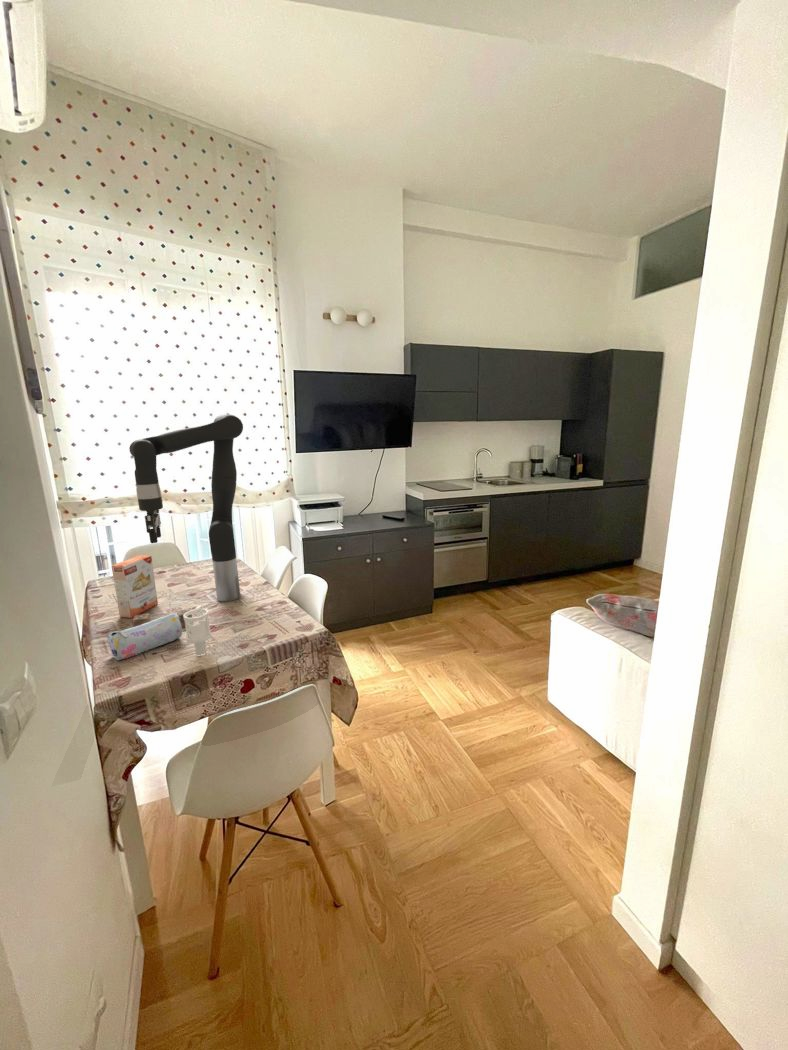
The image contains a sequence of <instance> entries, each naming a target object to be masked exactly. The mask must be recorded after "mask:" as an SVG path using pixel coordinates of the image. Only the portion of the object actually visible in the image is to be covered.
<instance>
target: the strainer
mask: <svg viewBox="0 0 788 1050" xmlns="http://www.w3.org/2000/svg"><path fill="white" fill-rule="evenodd" d="M196 613H197V616H196V617H195V616H194V617H192V618H188V617H187V616H189V615H191V614H192V615H193V614H196ZM209 614H210V613H209V610H208V609H206V608H203V606H202V605H197V606H196V607H195V608H194V609H191V611H188V612H186V613H185V614H184V615H183V617H184V620H185V626H184V627H185V632H186V642H187V643H189V644H194V648H195V649H194V651H195V655H196V654H197V655H201V654H204V653H206V652H207V646H206V641H208V640H210V639H211V638H212V632H211V625H210V618H209ZM194 622H197V623H198V624H194ZM206 654H207V653H206Z"/></svg>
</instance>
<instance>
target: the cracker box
mask: <svg viewBox="0 0 788 1050" xmlns="http://www.w3.org/2000/svg"><path fill="white" fill-rule="evenodd" d="M152 559H153V558H152V555H142V554H141V555H137V556H133V557H131V558H129V559H126V560H123V561H120V562H118V563H115V564H113V565H112V564H111V571H112V578H113V582H114V588H115V596H116V602H117V607H118V613H119V614H118V615H119V617H120V618H128V619H134V617H135V615H141V614H142V613H144V612H145V611H147V610H149V609H152V608H153V607H155V606H157V605H158V602H159V601H158V594H157V588H156V581H155V572H154V566H153V560H152Z"/></svg>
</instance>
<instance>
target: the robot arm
mask: <svg viewBox="0 0 788 1050" xmlns="http://www.w3.org/2000/svg"><path fill="white" fill-rule="evenodd" d="M243 431H244V424H243V422H242V420H241V419H240V418H239V417H237V415H233V414H227V413H225V414H223V413H222V414H221V413H220V414H219V415H217V416H216V417H215V419H213V422H210V423H207V424H203V425H200V426H193V427H187V428H181V429H176V430H172V431H169V432H168V431H167V432H164V433H161V434H159V435H156V436H150V437H145V438H141V439H137V440H133V442H131V444H129V452H130V453H129V454H130V455H131V456H132V457H133V459H134V466H135V470H134V479H135V485H136V491H135V492H136V496H137V504H138V510H139V511H142V512H146V515H144V521H145V527H146V533H148V535H149V540H150V541H149V542H150V544H157V543H158V538H161V537H162V532H161V525H162V522H161V516H160V510H162V509H163V508H164V506H163V497H162V492H161V491H162V490H161V487H160V484H159V478H158V477H159V476H158V475H159V474H158V471H157V456H160V455H162V454H171V453H175V452H179V451H182V450H185V449H189V448H192V447H195V446H199V445H202V444H206V443H210V442H213V455H212V456H213V458H212V470H211V497H212V498H211V499H212V513H211V514H212V515H211V520H210V525H209V530H208V541H209V546H210V554H211V559H212V561H211V562H212V568H213V576H214V584H215V593H216V594H215V595H216V599H217V601H219V602H224V601H225V602H232V601H235V600H238V599H241V598H242V597H241V588H240V580H239V569H238V559H237V551H236V542H235V534H234V533H235V532H234V526H233V504H234V500H235V496H236V489H237V476H238V475H237V473H238V472H237V467H236V462H235V456H234V451H233V448H234V440H235V439H236V438H238V437H239V436H241V434H242V432H243Z"/></svg>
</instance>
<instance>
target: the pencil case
mask: <svg viewBox="0 0 788 1050" xmlns="http://www.w3.org/2000/svg"><path fill="white" fill-rule="evenodd" d="M179 619H180V617H179V616H178V615H177V612H176V613H174V612H171V613H169V614H168V615H165V616H161V617H158V618H155V619H153V620H150V622H147V623H145V624H142V625H139V626H135V627H134V626H132V627H130V628H125V629H123V630H119V631H118V630H117V631H115V630H114V631H112V632H109V633H108V634H107V641H108V646H109V648H110V651H111V654H112V656H113V658H115V660H116V661H117V660H118V661H120V660H126V659H129V658H132V657H134V655H135V656H137V655H139V654H142V653H144V651H145V652H148V651H149V649H150V650H153V649H155V648H157V647H159V646H163V645H166V644H168V643H170V642H174V641H175V640H177V639H179V638H182V634H183V627H182V626H181V622H180V620H179ZM141 652H142V653H141ZM136 654H137V655H136ZM131 656H132V657H131ZM128 657H129V658H128ZM125 658H126V659H125Z"/></svg>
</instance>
